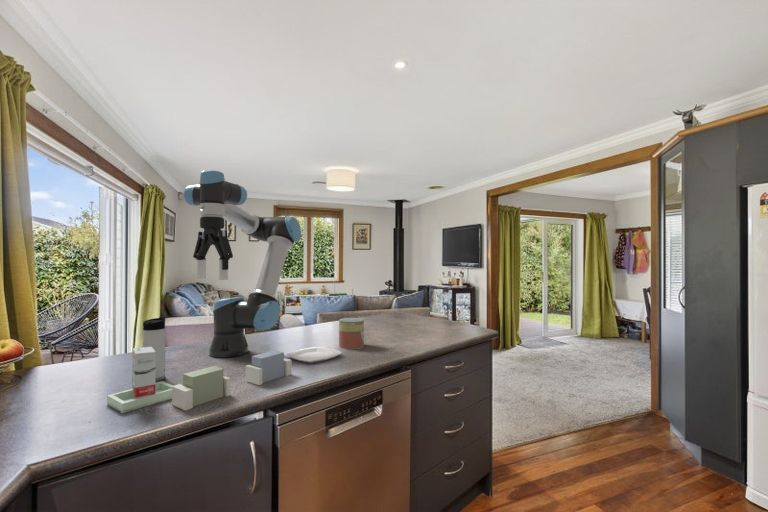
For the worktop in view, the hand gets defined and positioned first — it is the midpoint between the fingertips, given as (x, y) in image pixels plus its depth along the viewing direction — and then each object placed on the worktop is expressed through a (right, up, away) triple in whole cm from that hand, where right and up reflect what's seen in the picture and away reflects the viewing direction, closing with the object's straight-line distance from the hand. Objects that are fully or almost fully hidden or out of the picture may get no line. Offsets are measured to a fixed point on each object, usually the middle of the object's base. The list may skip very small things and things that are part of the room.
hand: (212, 279), depth 125 cm
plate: (+30, -33, +23) cm, 50 cm away
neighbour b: (+20, -33, -3) cm, 38 cm away
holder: (+14, -33, -12) cm, 37 cm away
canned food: (+44, -33, +40) cm, 68 cm away
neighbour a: (+7, -33, -21) cm, 40 cm away
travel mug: (-17, -33, -4) cm, 37 cm away
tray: (-9, -33, -22) cm, 40 cm away
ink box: (-9, -30, -22) cm, 39 cm away
